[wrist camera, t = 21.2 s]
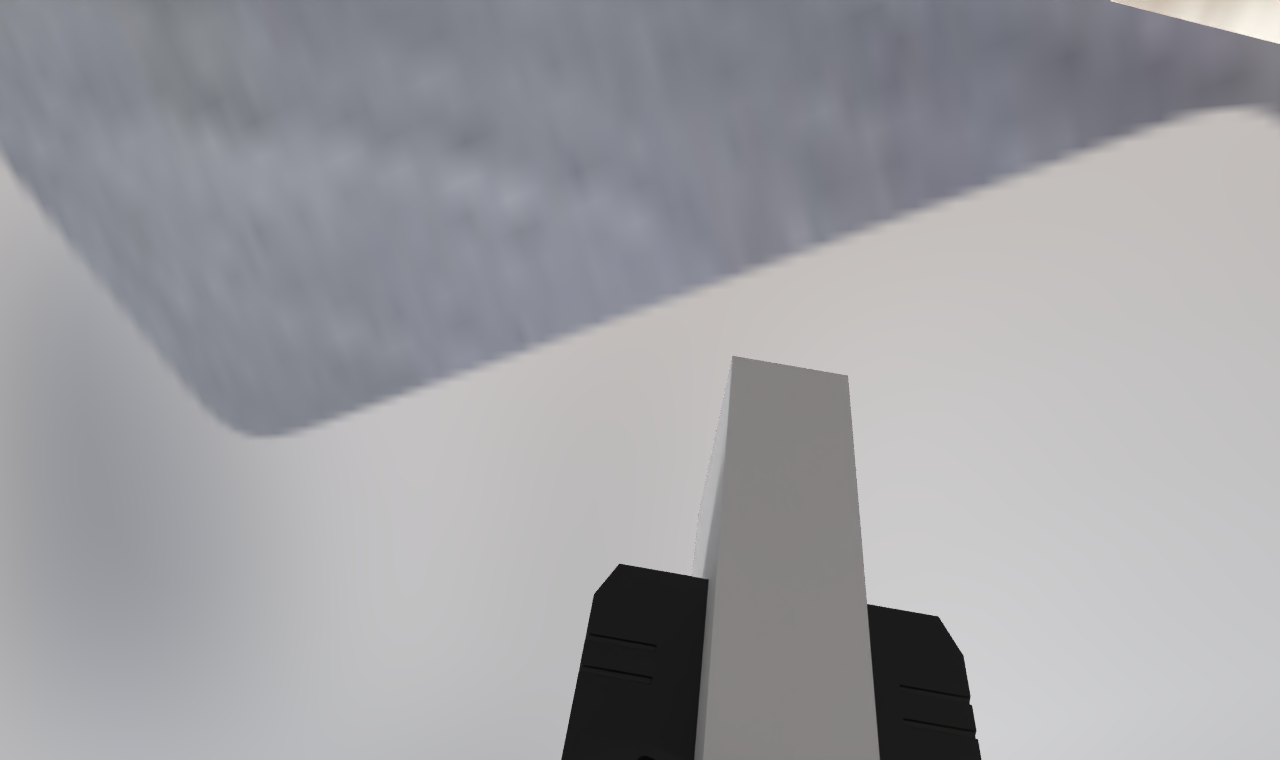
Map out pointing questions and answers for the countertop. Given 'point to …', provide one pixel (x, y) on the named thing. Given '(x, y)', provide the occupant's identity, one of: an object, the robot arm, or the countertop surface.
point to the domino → (1222, 14)
